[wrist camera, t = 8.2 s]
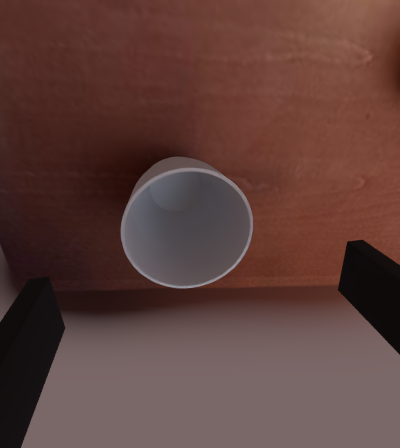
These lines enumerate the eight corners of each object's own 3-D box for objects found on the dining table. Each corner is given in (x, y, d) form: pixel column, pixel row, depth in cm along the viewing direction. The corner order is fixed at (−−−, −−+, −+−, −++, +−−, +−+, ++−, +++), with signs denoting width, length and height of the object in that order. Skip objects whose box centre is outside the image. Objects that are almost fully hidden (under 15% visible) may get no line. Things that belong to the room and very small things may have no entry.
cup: (185, 240, 29) (202, 305, 20) (113, 198, 26) (94, 253, 17) (235, 175, 27) (278, 215, 18) (163, 122, 24) (171, 137, 15)
